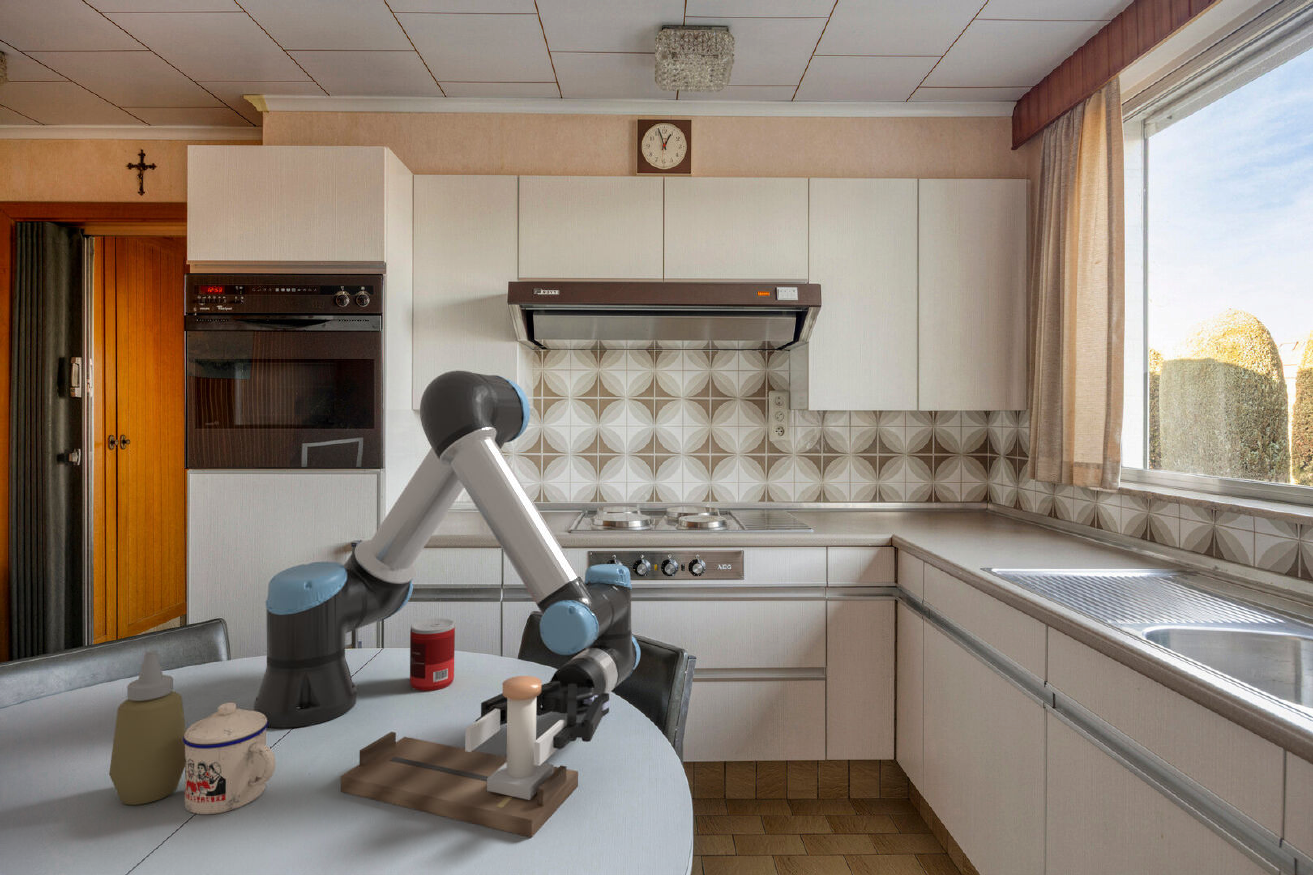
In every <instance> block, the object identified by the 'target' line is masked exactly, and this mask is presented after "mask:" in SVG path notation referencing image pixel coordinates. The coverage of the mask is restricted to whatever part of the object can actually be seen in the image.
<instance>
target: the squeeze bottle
mask: <svg viewBox="0 0 1313 875" xmlns="http://www.w3.org/2000/svg"><path fill="white" fill-rule="evenodd" d="M173 690H174V678H173V676H171V675H167V674H163V671H162V667H161V663H160V660H159V655H158V652H157V651H155V650H154V651H148V652H145V654H144V657H143V660H142V664H141V668H140V672H139V675H138V679H136V680H132V681H130V683H129V684H128V685H127V690H126V691H127V693H126V694H127V696H126V697H127V699H125V700H124V701H123V702H122V703H121V704H120V705H119V706H118V707H117V712H116V720H115V727H114V737H113V742H112V749H111V750H112V751H111V758H110V765H109V772H108V773H109V777H110V780H111V781H112V783H113V786H114V789H115V790H116V793H117V794H118V797H119V799H120V802H121V803H122V804H124V805H132V806H133V805H135V806H136V805H144V804H149V803H151V802H155V801H158V800H161V799H163V798H165V797H166V798H167V796H168V797H169V795H171V794H173V793H174V792H175V791H177V789H178V786H179V784H180V781H181V779H182V776H183V774H184V772H185V744H184V742H183V737H184V734H185V732H186V730H187V729H186V722H185V720H186V719H185V715H184V704H183V697H182V695H181V694H180V693H178V692H177V691H173Z"/></svg>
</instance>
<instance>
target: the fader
mask: <svg viewBox="0 0 1313 875" xmlns="http://www.w3.org/2000/svg"><path fill="white" fill-rule="evenodd" d="M541 685H542V680H541V679H540V678H539V677H536V676H531V675H519V676H512V677H510V678H507V679H506V680H504V681H503V683H502V693H503V696H504V697H506V698H507V723H506V757H507V762H506V763H505V764H504V765H502V766H501V767H500V768H499V769H498V770H497V771H495V772H494V773H493V774H492V775H491V776H489V777H488V778H487V791H491V792H496V793H500V794H505V795H509V796H514V797H518V798H523V799H527V800H530V799H531V798H532V797H533V796H534V795H535V794H536V793H537V789H538V787H539V786H540V785H541V784H542V783H543V782H544V781H546V780H547V779H548V778H549V777H550V776H551V775H552V774H553V773H554V767H555V765H554V764H552V763H548V762H547V763H546V762H543V763H542V764H541V765H540V766H537V765H534V742H535V741H536V740H537V715H536V699H537V696H538V695H540V694H541Z"/></svg>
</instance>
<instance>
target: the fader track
mask: <svg viewBox="0 0 1313 875" xmlns="http://www.w3.org/2000/svg"><path fill="white" fill-rule="evenodd" d="M396 740H397V732H395V731H390V732H388V733H387V734H385V735H384V736H382V737H380V738H378V739H377V740H375V741H373V742H372V743H369V744H368V745H366V746H365V747H363V748H361V749H359V754H358V755H359V756H358V757H359V761H358V762H359V764H358V765H356V766H355V767H353V768H351V769H350V770H347V771H346V772H345V773H343V774H342V775H340V792H341V793H346V794H350V795H355V796H359V797H362V798H367V799H371V800H374V801H375V800H376V801H379V802H384V803H388V804H392V805H395V806H400V807H404V808H407V809H408V808H409V809H413V810H416V811H420V812H425V813H429V814H433V815H437V816H441V817H445V818H449V819H455V820H457V821H463V822H466V823H470V824H473V825H474V824H475V825H479V826H482V827H483V826H484V827H486V828H491V829H496V830H500V831H503V832H507V833H512V834H516V835H520V836H525V837H529V838H533V837H534V836H535V835H536V834H537V832H538V831H539V830H540V829H541V828H542V827H543V826H544V825H545V823H546V822H547V821H548V820H549V819H550V818H551V817H552V816H553V815H554V813H555V812H556V811H557V810H558V809H560V807H561V806H562V805H563V803H565V801H566V800H567V799H568V798H569V797H570V796H571V795H572V794H573V792H574V791H575V790H576V789H577V788H578V787H579V771H578V770H573V769H570V768H567V766H566V765H561V764H560V765H559V766H554V773H553V774H552V775H551V776H550V777H549V778H548V779H547V780H546V781H544V782H543V783H542V784H541V785H540V786H539V787H538V789H537V793H536V794H535V795H534V796H533V797H532V798H531V799H530V800H527V799H523V798H518V797H514V796H509V795H505V794H500V793H496V792H491V791H487V778H488V777H489V776H491V775H492V774H493V773H494V772H495V771H497V770H498V769H499V768H500V767H501V766H502V765H504V764H505V763H506V762H507V756H504V755H499V754H493V753H489V752H483V751H479V750H475V749H474V750H473V751H471V752H467V751H465V747H464V748H463V747H460V746H454V745H449V744H443V743H438V742H433V741H427V740H423V739H419V738H418V739H417V738H414V737H407V736H403V737H401V738H400V739H398V740H397V741H396ZM549 817H550V818H549Z"/></svg>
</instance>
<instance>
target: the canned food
mask: <svg viewBox="0 0 1313 875" xmlns="http://www.w3.org/2000/svg"><path fill="white" fill-rule="evenodd" d="M455 627H456V626H455V621H454V620H452V619H448V618H429V619H423V620H419V621H416V622H413V623H412V624H411V625H410V630H409V633H410V635H409V636H410V638H409V683H410V686H411V688H412V689H414V690H417V691H418V692H419V691H420V692H432V691H437V690H438V691H439V690H442V689H445V688H447V687H449V686H451V685H452V684H453V681H454V678H455V650H456V649H455V647H456V645H455V642H456V640H455V639H456V638H455V636H456V628H455Z"/></svg>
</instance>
